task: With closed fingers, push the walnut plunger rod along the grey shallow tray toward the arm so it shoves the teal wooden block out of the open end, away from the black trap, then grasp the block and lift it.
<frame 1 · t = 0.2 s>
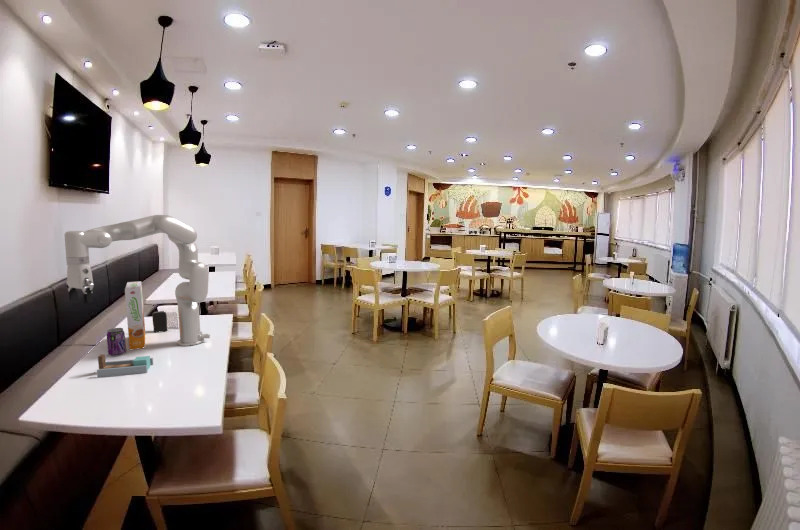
hand: (80, 301, 175), 30 cm above the table, tool pointing down, fingers open, 9 cm apart
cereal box: (138, 342, 217), on the table
battery: (160, 331, 237), on the table
block: (142, 369, 182), on the table
plunger rod: (116, 362, 178), point 4 cm above the table, slide at 0.0 cm
beverage can: (117, 354, 200), on the table
grey shallow tray: (126, 370, 180), on the table
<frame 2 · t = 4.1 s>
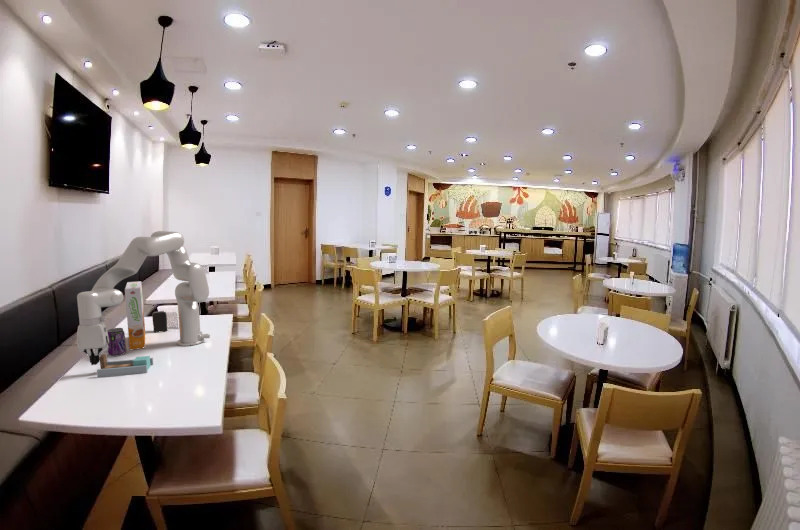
hand: (95, 363, 176), 4 cm above the table, tool pointing down, fingers closed
plunger rod: (117, 362, 179), point 4 cm above the table, slide at 0.6 cm, touching gripper
everything else where it was.
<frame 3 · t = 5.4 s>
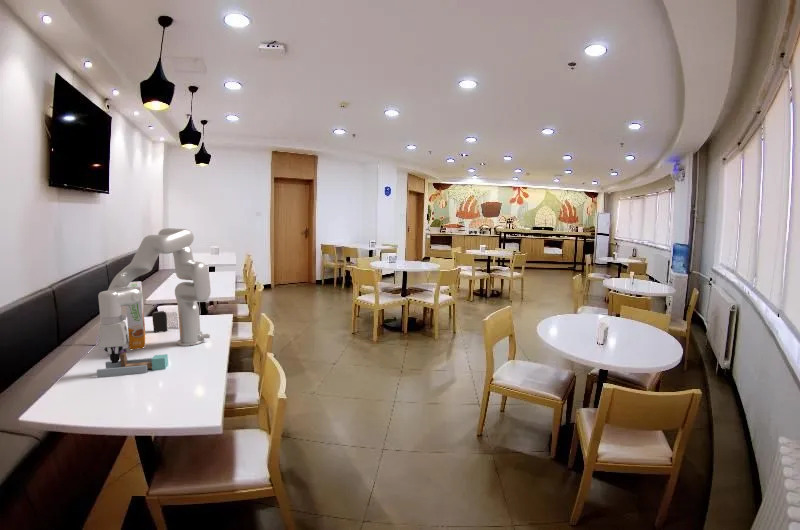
hand: (115, 362, 178), 4 cm above the table, tool pointing down, fingers closed
block: (160, 367, 184), on the table, touching plunger rod
plunger rod: (137, 360, 181), point 4 cm above the table, slide at 8.0 cm, touching block, gripper
everything else where it was.
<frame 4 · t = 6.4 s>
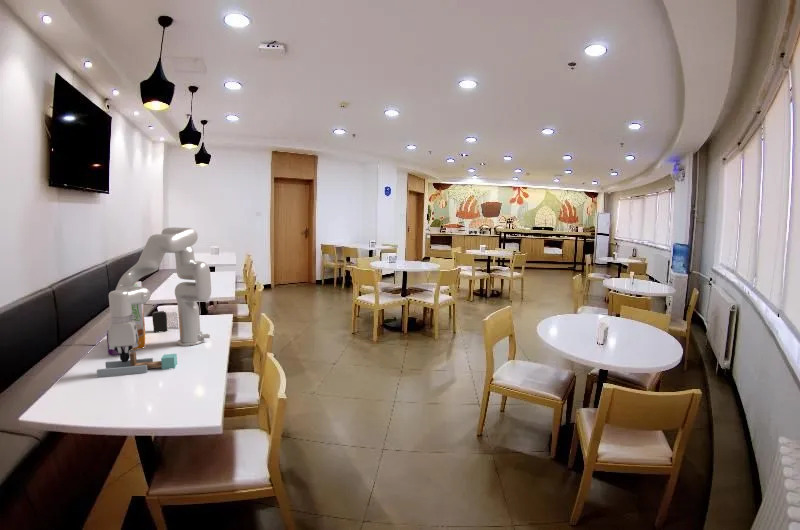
hand: (125, 361, 179), 4 cm above the table, tool pointing down, fingers closed
block: (169, 366, 185), on the table
plunger rod: (147, 359, 182), point 4 cm above the table, slide at 11.6 cm, touching gripper
everything else where it was.
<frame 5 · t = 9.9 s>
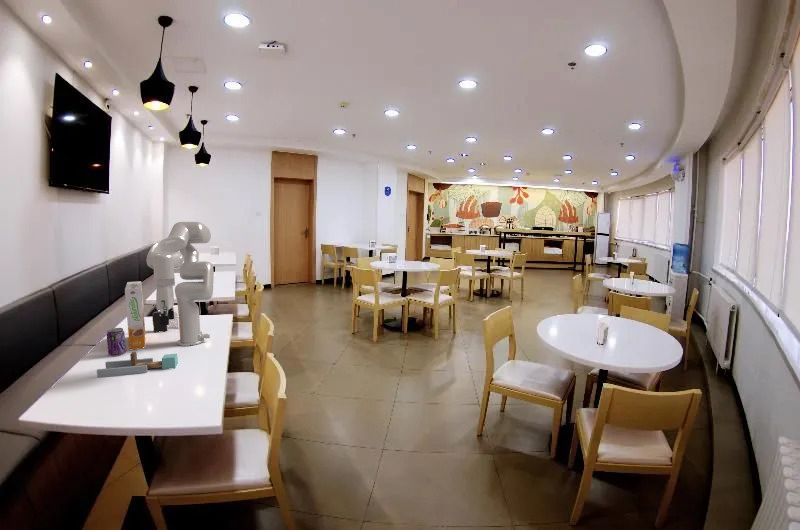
hand: (167, 322, 182), 20 cm above the table, tool pointing down, fingers open, 8 cm apart
plunger rod: (147, 359, 182), point 4 cm above the table, slide at 11.9 cm
everything else where it was.
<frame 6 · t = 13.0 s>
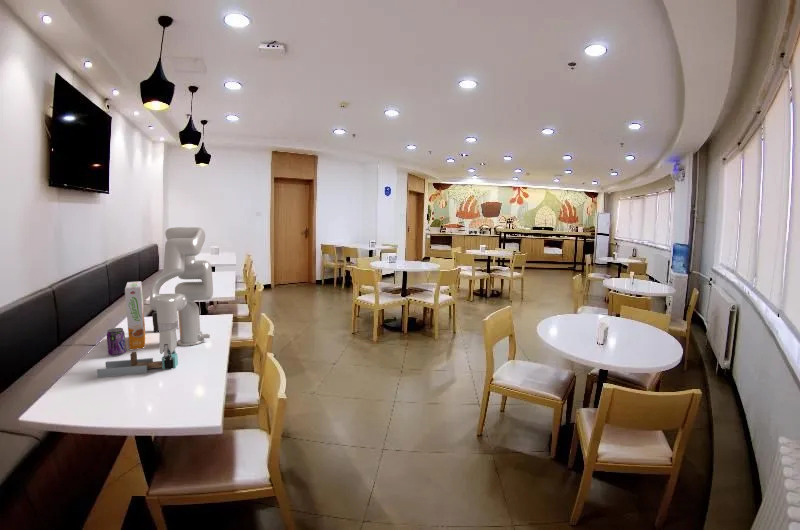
hand: (170, 365, 185), 0 cm above the table, tool pointing down, fingers closed on block, 5 cm apart
block: (170, 366, 185), on the table, touching gripper
everything else where it was.
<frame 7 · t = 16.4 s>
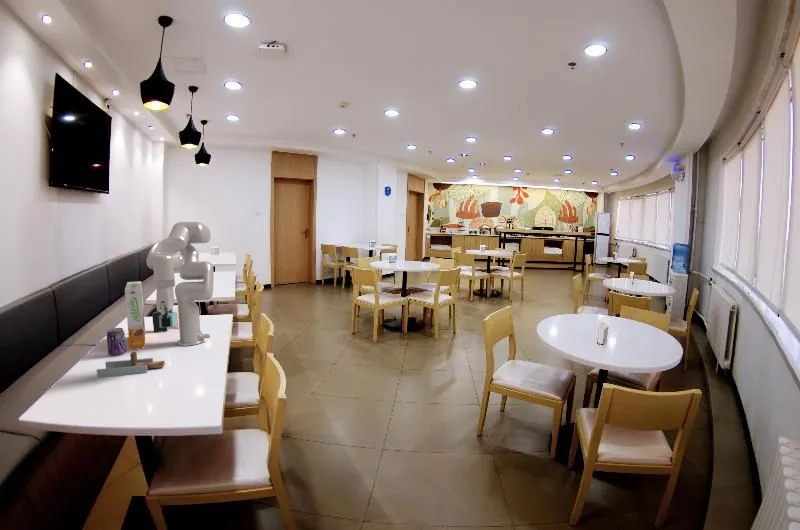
hand: (167, 324, 182), 19 cm above the table, tool pointing down, fingers closed on block, 5 cm apart
block: (167, 325, 182), point 18 cm above the table, touching gripper
everything else where it was.
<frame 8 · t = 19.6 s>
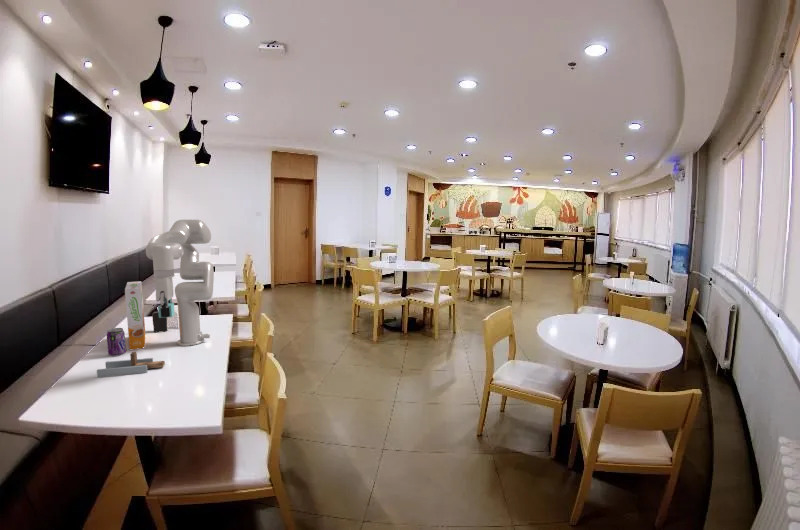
hand: (167, 314, 182), 23 cm above the table, tool pointing down, fingers closed on block, 5 cm apart
block: (166, 316, 182), point 23 cm above the table, touching gripper
everything else where it was.
at the end: plunger rod slide at 11.9 cm; the gripper is holding block; block point 22.8 cm above the table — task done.
